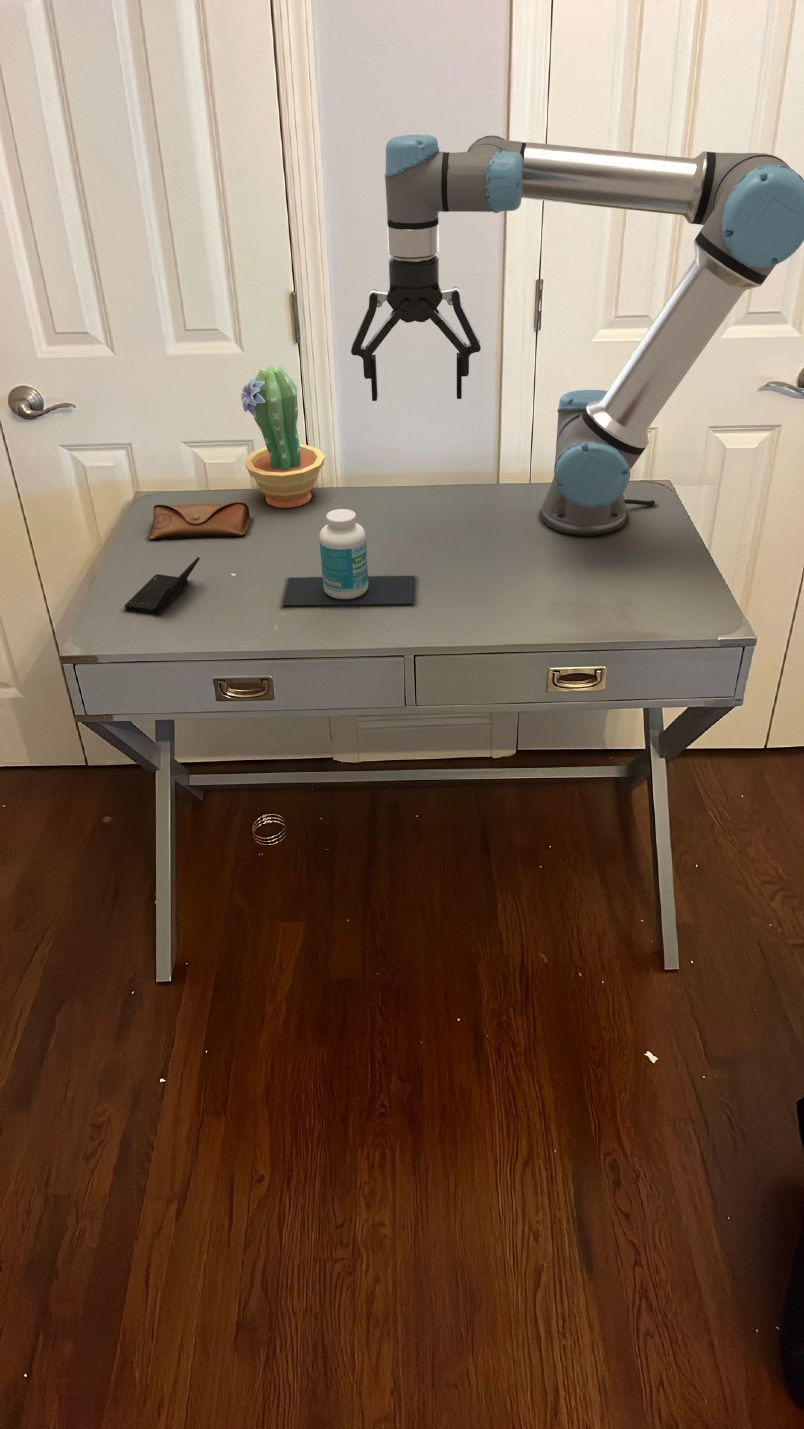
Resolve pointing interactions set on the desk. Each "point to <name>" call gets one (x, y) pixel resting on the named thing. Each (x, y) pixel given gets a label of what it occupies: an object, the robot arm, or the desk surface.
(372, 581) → the desk mat
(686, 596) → the desk surface
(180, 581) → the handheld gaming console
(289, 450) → the potted cactus
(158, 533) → the sunglasses case
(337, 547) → the pill bottle
